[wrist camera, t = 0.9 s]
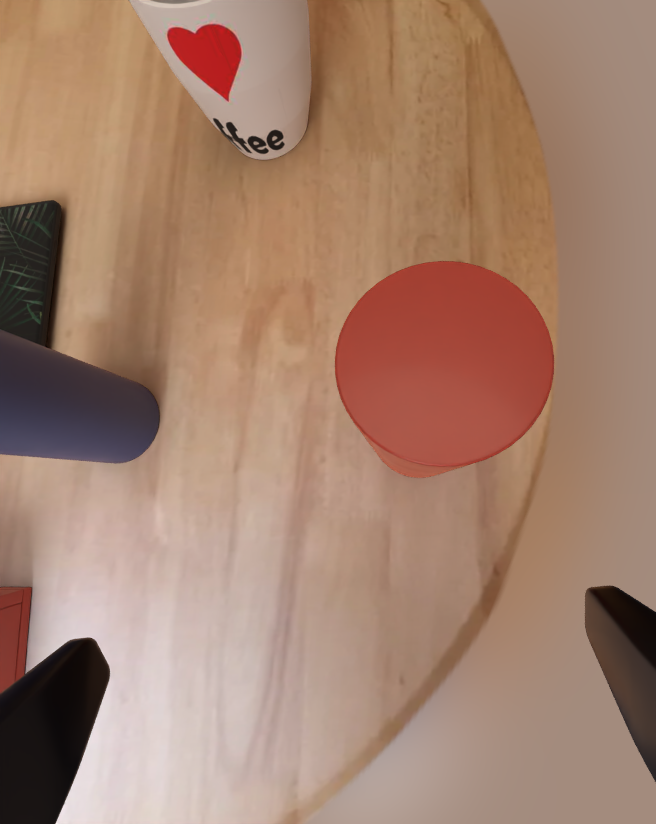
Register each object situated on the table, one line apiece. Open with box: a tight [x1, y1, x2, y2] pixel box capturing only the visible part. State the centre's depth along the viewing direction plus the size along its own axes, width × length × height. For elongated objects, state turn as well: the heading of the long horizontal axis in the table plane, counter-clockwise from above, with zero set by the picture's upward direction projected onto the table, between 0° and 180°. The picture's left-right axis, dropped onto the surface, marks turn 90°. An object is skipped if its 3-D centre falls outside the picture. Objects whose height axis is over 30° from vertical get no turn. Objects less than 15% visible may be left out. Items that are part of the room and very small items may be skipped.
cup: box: [129, 0, 312, 160], centre depth 23 cm, size 8×8×10 cm
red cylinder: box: [335, 261, 554, 478], centre depth 16 cm, size 5×5×13 cm
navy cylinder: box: [0, 329, 159, 463], centre depth 19 cm, size 5×5×13 cm
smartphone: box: [0, 200, 62, 347], centre depth 28 cm, size 7×1×15 cm
